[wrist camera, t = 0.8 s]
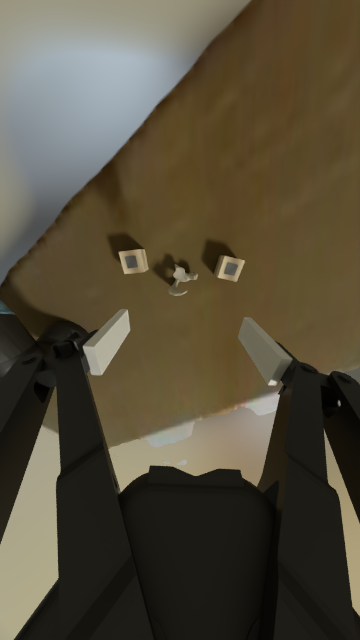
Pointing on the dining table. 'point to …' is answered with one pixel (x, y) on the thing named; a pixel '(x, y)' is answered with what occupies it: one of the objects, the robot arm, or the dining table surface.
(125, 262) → the marked cube 2
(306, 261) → the dining table surface
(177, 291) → the white irregular piece
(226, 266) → the marked cube 1
